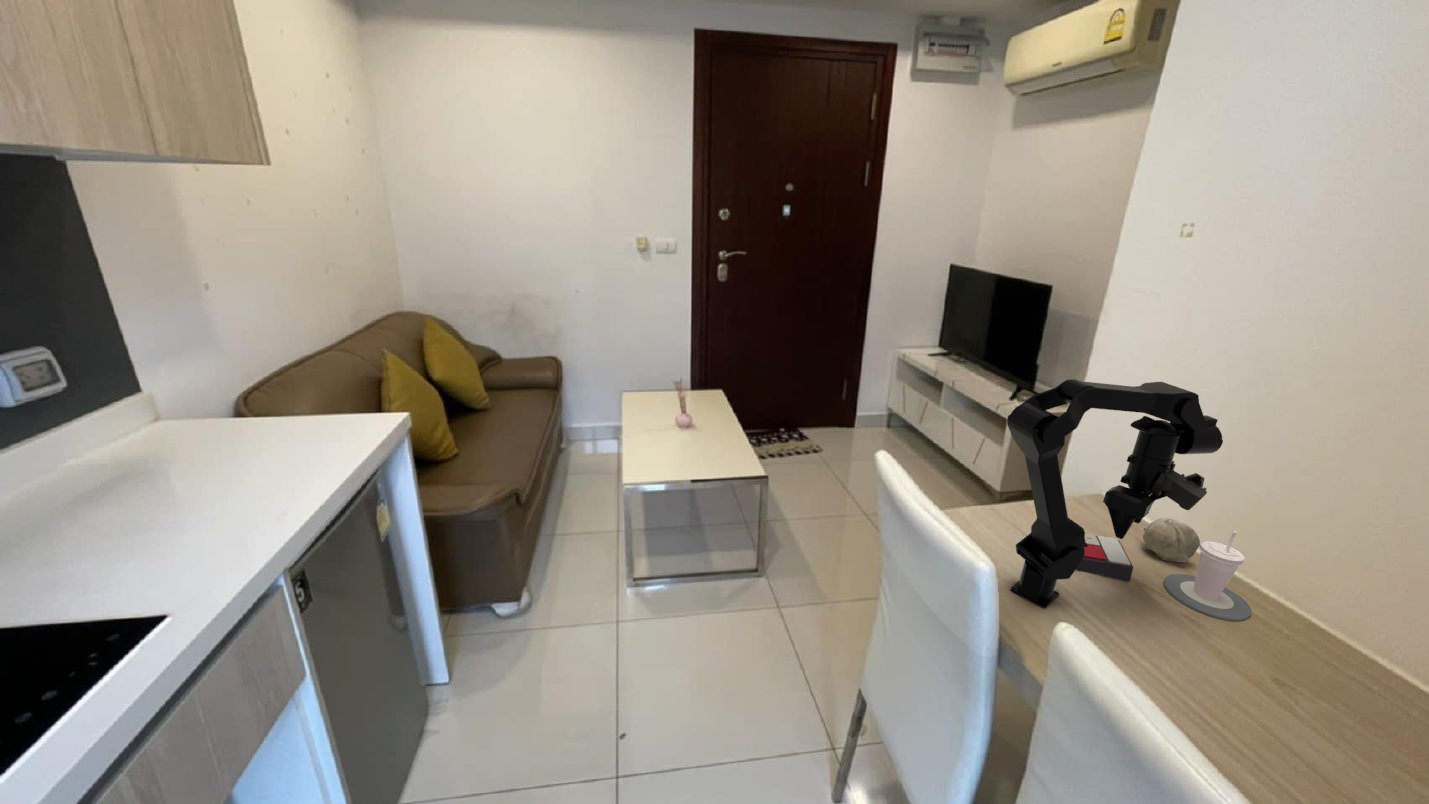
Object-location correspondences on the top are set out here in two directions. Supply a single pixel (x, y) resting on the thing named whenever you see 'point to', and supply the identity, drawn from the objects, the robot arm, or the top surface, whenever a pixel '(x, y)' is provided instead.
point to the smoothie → (1216, 568)
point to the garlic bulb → (1171, 539)
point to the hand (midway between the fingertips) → (1127, 529)
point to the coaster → (1222, 608)
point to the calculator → (1105, 558)
